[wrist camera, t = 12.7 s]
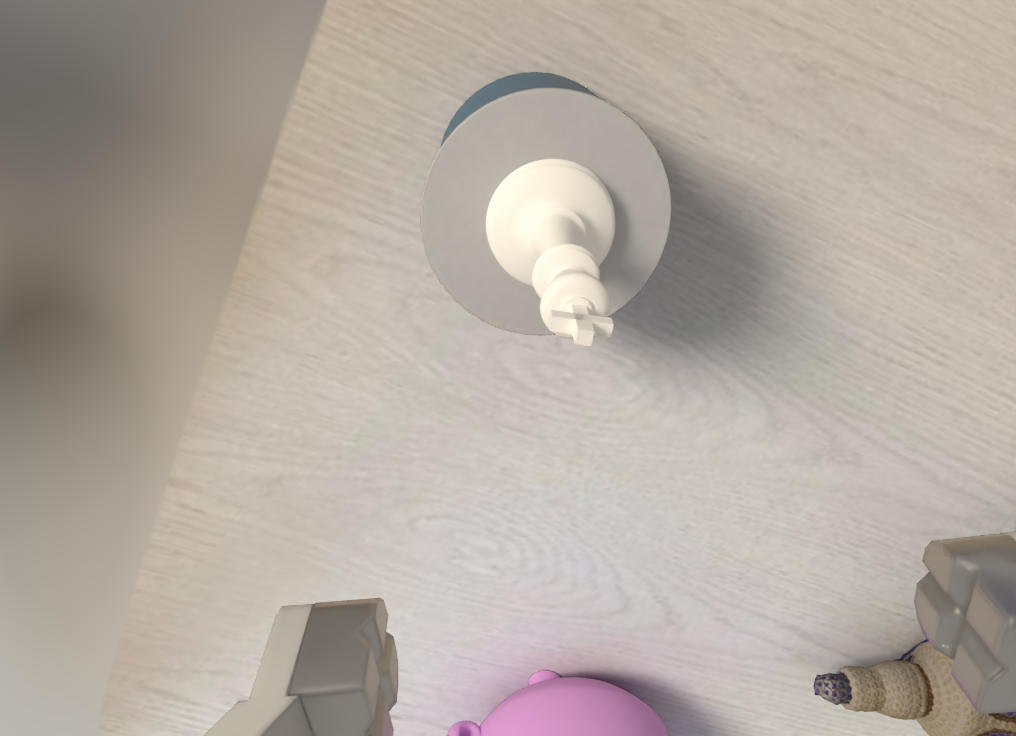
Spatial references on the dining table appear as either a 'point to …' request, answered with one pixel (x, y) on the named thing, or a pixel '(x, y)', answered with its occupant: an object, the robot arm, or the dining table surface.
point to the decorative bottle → (914, 694)
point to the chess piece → (556, 242)
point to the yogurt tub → (516, 142)
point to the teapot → (567, 711)
